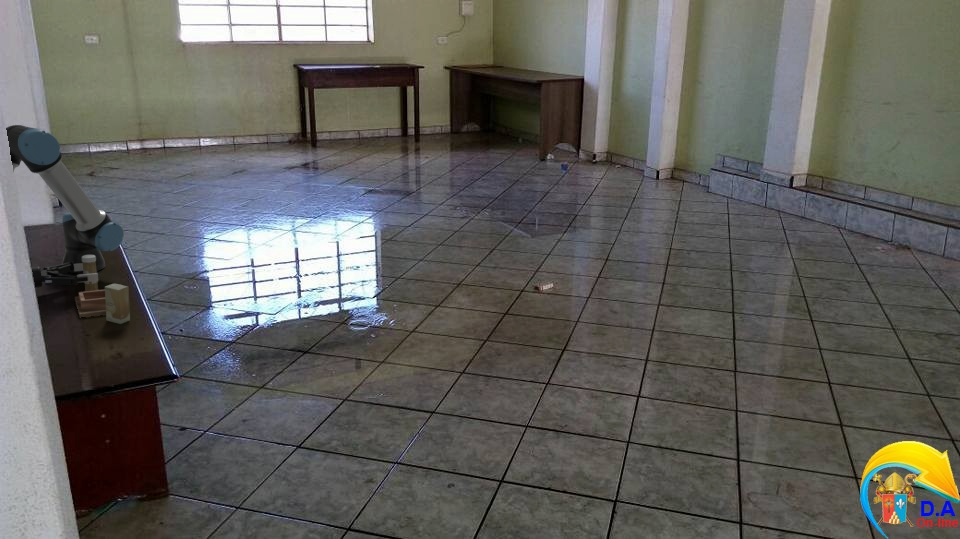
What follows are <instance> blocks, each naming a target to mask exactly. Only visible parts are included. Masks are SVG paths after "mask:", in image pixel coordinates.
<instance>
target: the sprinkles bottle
mask: <svg viewBox="0 0 960 539" xmlns="http://www.w3.org/2000/svg"><path fill="white" fill-rule="evenodd" d="M82 263H83V273H82V274H92V273H98V271H97V270H96V256H95V255H84V256H82ZM83 283H84V288H85V289H84V292H85V291H95V290H100V289H99V285H98V283H99V280H98V281H91V282H83Z"/></svg>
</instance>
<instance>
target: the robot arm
mask: <svg viewBox="0 0 960 539" xmlns="http://www.w3.org/2000/svg"><path fill="white" fill-rule="evenodd" d="M5 128H6V130H7V136H8V141H9V147H10V155H11V161H12V165H13V172H14V171H15V169H16V168H18V167H20V164H21V162H23V163H24V165H25V166H26V167H27V169H28V170H29V171H30V172H31V173H32V174H38V175H39V176H40V177H41V179H42V180H43V181H44V183H45V184H46V185H47V187H49V189H50V190H51V192H52V193H53V194H54V195H55V196H56V198H57V199H58V200H59V201H60V203H61V204H62V206H63V207H64V208H65V209H66V211H68V212H65V213H64V214H63V215H62V227H63V229H62V230H63V237H64V245H65V250H64V255H63V258H62V262H61V264H57V265H56V264H54V265H51V266H44V267H42V268H41V266H39V265H32V272H33V277H34V282H35V288H42V287H43V283H45V285H46V286H49V285H54V286H55V285H56V286H57V285H60V286H79V283H84V282H91V281H98V282H99V274H98V271H101V270H103V269H104V268H105V267H106V263H105V258H104V257H103V254H102V252H112V251H115V250H117V249H118V248H119V246H120V245H121V244H122V243H123V240H124V239H123V238H124V234H125V232H124V228H123V227H122V226H121V225H120V223H117V222H116V221H113V220H111V217H109V215H108V214H107V213H106V211H104V210H103V209H98V208H97V207H96V205H95V204H94V203H93V201H92V200H91V199H90V197H89V196H88V194H87V193H86V192H85V191H84V190H83V188H82V187H81V185H80V184H79V183H78V181H77V180H76V178H74V176H73V174H72V173H71V172H70V171H69V169H68V168H67V166H66V165H65V164H64V163H63V161H62V160H63V154H62V152H61V151H60V150H61V145H60V142H59V141H58V139H57V138H56V136H55V135H53V134H52V133H50V132H48V131H46V130H44V129H42V128H37V127H31V126H25V125H23V124H13V125H10V126H7V127H5ZM84 255H95V256H96V270H97V273H92V274H83V263H82V256H84ZM41 269H42V270H41ZM67 273H72V274H77V275H71V274H67Z"/></svg>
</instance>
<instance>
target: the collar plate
mask: <svg viewBox="0 0 960 539" xmlns="http://www.w3.org/2000/svg"><path fill="white" fill-rule="evenodd" d="M74 302H76V303H75V305H76V309H78V310H77V312H78V316H79V319H82V318H81V317H86V318H92V317H91V316H94V317H100V315H103V316H106V300H105V288H104V289H99V290H95V291H85V290H84V291H78V296H74Z"/></svg>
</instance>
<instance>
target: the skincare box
mask: <svg viewBox="0 0 960 539" xmlns="http://www.w3.org/2000/svg"><path fill="white" fill-rule="evenodd" d="M104 289H105V300H106V315H105V316H106V317H105V318H106V321H107V322H108V321H109V322H111V323H114V324H115V323H116V324H120V325H123V324H124V323H127V322H130V321H131V313H130V312H131V311H130V309H131V308H130V293H129V291H130V289H129V286H128V285H127V286H126V285H122V284H118V283H112V284H109V285H106V286H104Z"/></svg>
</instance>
